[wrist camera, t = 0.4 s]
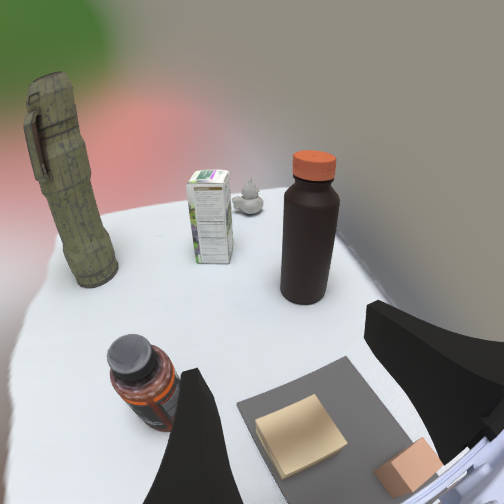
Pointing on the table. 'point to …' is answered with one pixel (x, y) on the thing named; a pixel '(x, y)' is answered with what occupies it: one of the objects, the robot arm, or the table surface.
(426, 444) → the terracotta block
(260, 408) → the mat
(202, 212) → the syrup box
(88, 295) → the table surface
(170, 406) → the supplement bottle
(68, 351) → the table surface
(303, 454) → the oak block
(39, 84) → the thermos
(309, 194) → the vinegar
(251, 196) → the rubber duck
